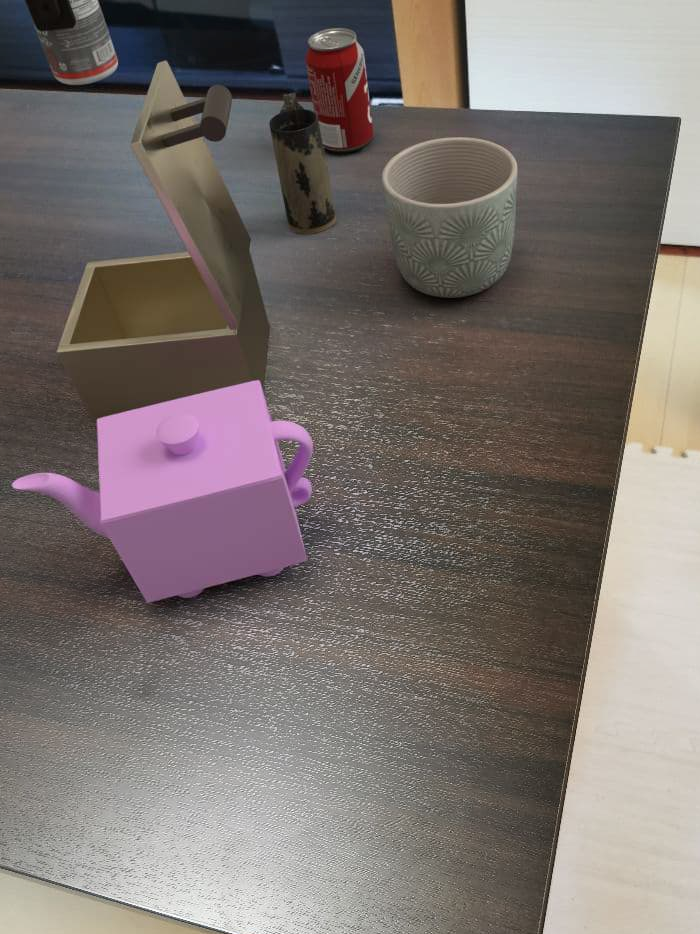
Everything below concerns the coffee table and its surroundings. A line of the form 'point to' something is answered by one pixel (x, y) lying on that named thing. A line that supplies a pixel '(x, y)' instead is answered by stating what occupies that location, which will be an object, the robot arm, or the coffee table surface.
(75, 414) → the coffee table surface
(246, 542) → the teapot
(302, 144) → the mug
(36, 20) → the robot arm
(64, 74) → the pill bottle
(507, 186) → the planter
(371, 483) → the coffee table surface
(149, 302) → the tan open box
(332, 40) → the soda can
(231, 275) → the lid
